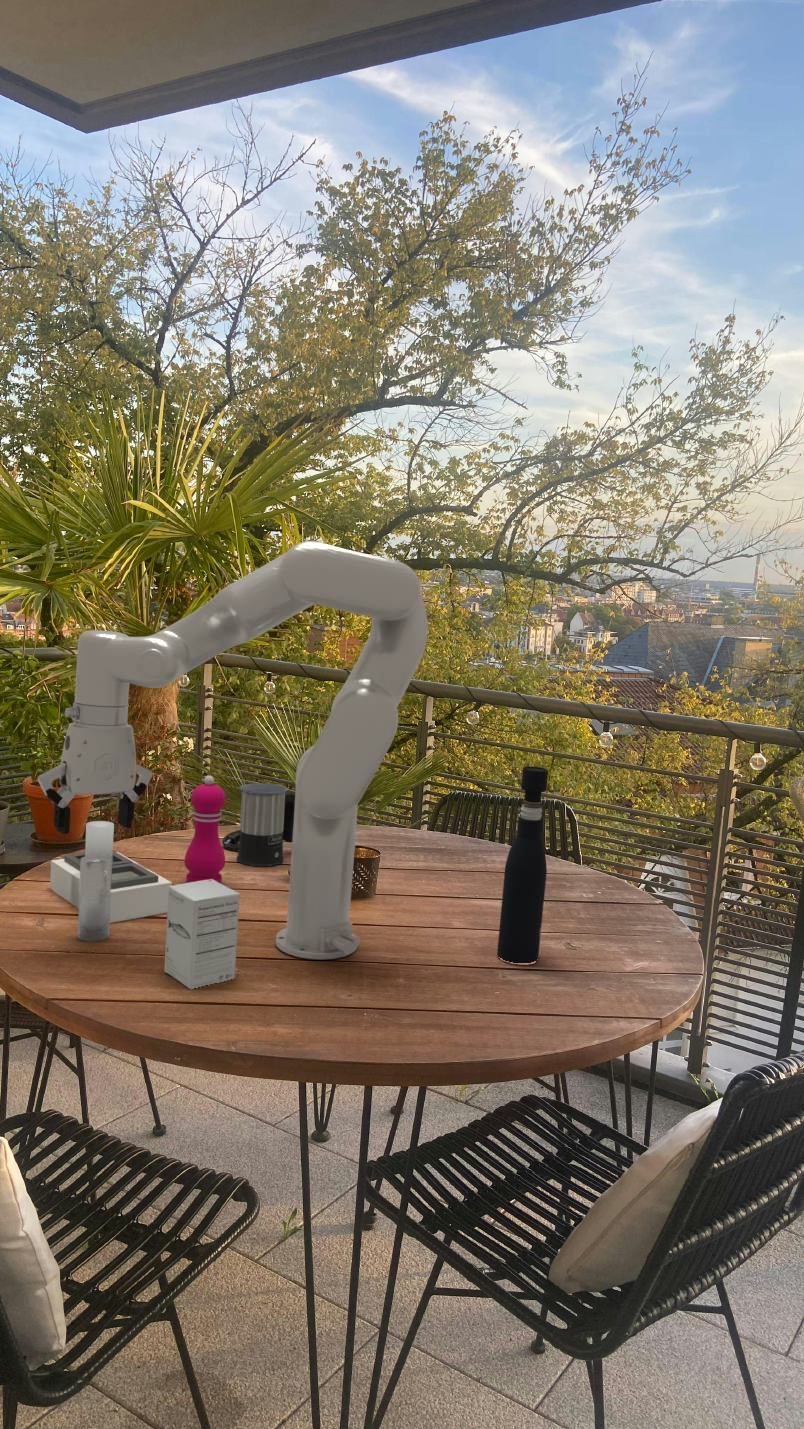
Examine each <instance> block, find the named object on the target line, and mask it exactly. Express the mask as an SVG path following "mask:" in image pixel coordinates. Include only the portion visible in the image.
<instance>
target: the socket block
mask: <svg viewBox="0 0 804 1429" xmlns="http://www.w3.org/2000/svg"><path fill="white" fill-rule="evenodd" d="M114 830H115V824H114V823H113V822H112V821H107V820H96V821H95V820H93V821H89V822H87V823H86V824H85V846H84V848H85V849H84V850H85V851H84V852H82V853H81V852H80V853H74V854H73V853H72V854H66V855H65V854H64V858H60V859H52V860H51V861H50V880H49V881H50V883H49V889H50V890H51V891H53V892H54V893H56V894H57V895H58V896H60V897H61V898H63V899H64V900H65V901H66V902H68V903H69V904H71V905H72V906H74V907H75V908H76V909H78V910H79V892H80V863H81V858H82V857H85V856H89V855H105V856H109V857H111V858H112V876H111V901H110V924H112V923H117V922H123V921H129V920H134V919H140V918H145V917H150V916H155V915H161V914H167V913H168V894H169V886H173V882H172V881H171V880H168V879H167V878H164V877H163V876H161V875H159V874H157V873H156V872H155V871H152V870H150V869H148V868H147V867H145V866H143V865H142V864H140V863H139V862H136V861H134V860H133V859H131V858H129V857H127V856H125V855H124V854H122V853H120V852H118V851H114V834H115V833H114V832H115V831H114Z"/></svg>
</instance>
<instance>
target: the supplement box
mask: <svg viewBox="0 0 804 1429" xmlns="http://www.w3.org/2000/svg"><path fill="white" fill-rule="evenodd" d="M240 897H241V894H240V892H238V891H236V890H233V889H232V888H230V887H228V886H226V885H224V884H223V883H221V884H220V883H219V882H217V881H215V880H213V879H209V880H202V881H196V882H190V883H186V882H185V883H179V884H174V885H173V884H172V886H169V894H168V913H166V914H167V916H166V931H165V932H166V935H165V950H164V951H165V953H164V954H165V955H164V972H165V973H166V974H168V975H170V976H171V977H172V978H174V979H175V980H177V981H179V982H180V983H181V984H183V986H185V987H187V989H189V990H195V989H194V988H196V989H199V988H198V987H200V988H202V987H201V986H204V987H206V986H205V985H208V986H211V985H210V984H213V985H215V984H214V983H217V984H220V982H221V983H223V982H224V981H225V982H227V981H228V980H229V981H232V980H234V979H235V977H236V976H235V975H236V962H237V961H236V960H237V949H238V948H237V946H238V928H239V914H240V913H239V912H240V899H241V898H240ZM231 979H232V980H231ZM225 982H224V983H225Z"/></svg>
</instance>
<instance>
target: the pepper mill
mask: <svg viewBox="0 0 804 1429" xmlns="http://www.w3.org/2000/svg"><path fill="white" fill-rule="evenodd" d="M214 783H215V779H214V777H213V776H212V775H207V776H205V777H204V779H203V784H200V785H198V786H196V787H195V788H194V789H193V790H192V793H191V796H190V803H191V805H192V807H194V810H193V812H192V813H193V816H192V818H193V820H194V821H195V822H194V824H195V828H194V835H193V838H192V840H191V842H190V844H189V846H188V848H187V850H186V852H185V856H184V860H183V862H184V863H183V864H184V866H185V868H186V869H187V870H188V873H187V874H186V880H185V883H190V882H196V881H202V880H209V879H213V880H215V881H217V882H219V883H220V884H222V882H223V881H222V879H223V875H222V874H221V873H220V872H221V871H222V870H223V869H224V867H225V865H226V855H225V854H226V853H225V851H224V848H223V844H222V842H221V840H220V837H219V836H220V835H219V822H220V821H221V820H222V814H223V812H222V811H220V810H221V809H222V808H223V807H224V805H225V803H226V793H225V791H224V790H223V789H222V787H220V786H219V785H217V784H214Z"/></svg>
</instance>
